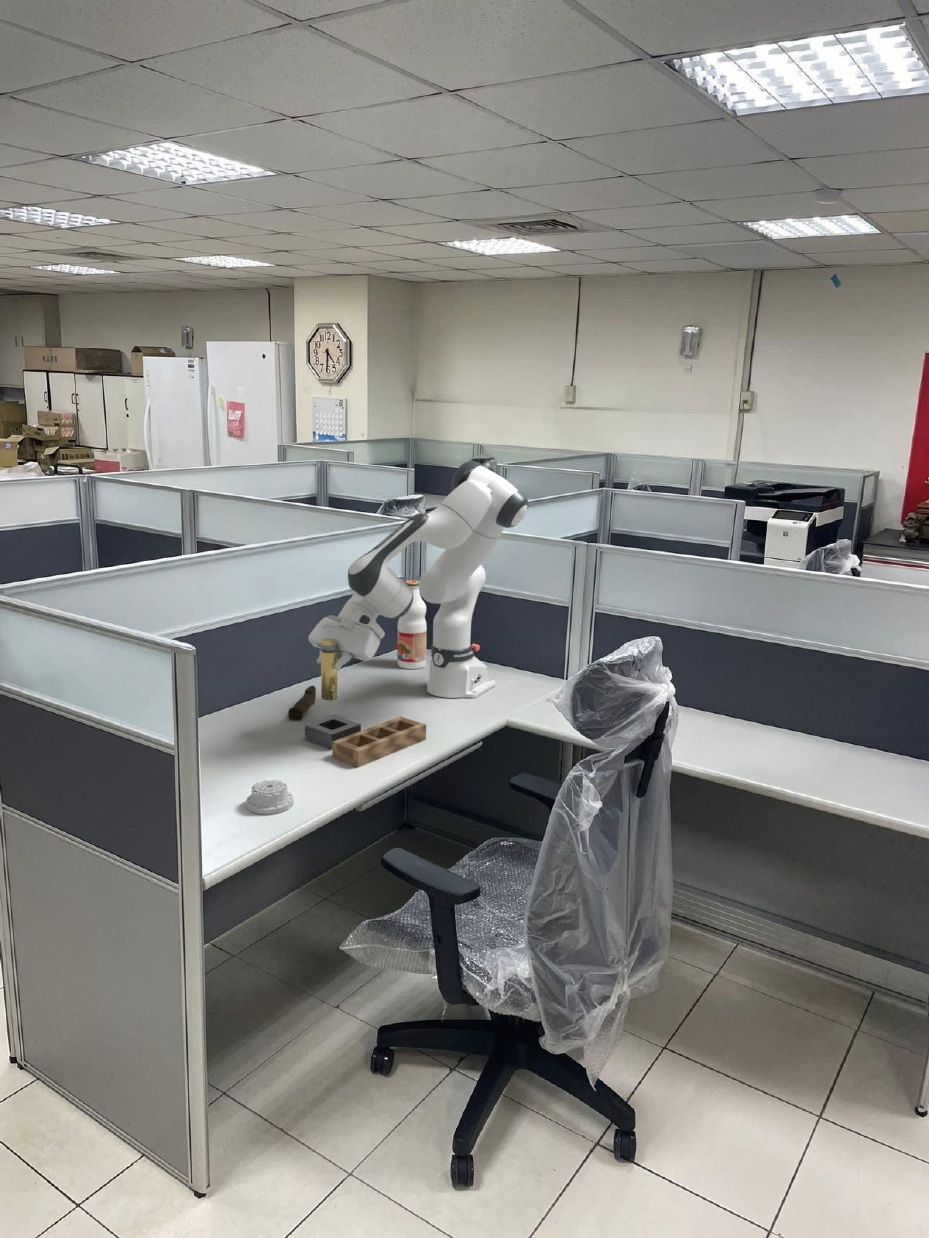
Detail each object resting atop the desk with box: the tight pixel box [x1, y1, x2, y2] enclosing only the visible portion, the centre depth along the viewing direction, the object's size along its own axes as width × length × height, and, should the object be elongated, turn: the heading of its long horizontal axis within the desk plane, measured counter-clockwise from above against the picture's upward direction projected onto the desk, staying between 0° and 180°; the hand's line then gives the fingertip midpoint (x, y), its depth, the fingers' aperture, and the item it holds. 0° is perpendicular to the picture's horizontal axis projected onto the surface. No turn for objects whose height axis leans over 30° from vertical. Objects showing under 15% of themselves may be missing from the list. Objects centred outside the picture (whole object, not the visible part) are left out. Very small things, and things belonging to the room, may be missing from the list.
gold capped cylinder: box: [319, 639, 338, 701], centre depth 223 cm, size 5×5×15 cm
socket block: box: [304, 714, 362, 750], centre depth 226 cm, size 10×10×4 cm
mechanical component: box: [245, 779, 295, 815], centre depth 190 cm, size 10×4×10 cm
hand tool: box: [287, 685, 317, 721], centre depth 248 cm, size 19×4×5 cm, turn 171°
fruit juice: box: [396, 579, 428, 670], centre depth 287 cm, size 9×9×28 cm
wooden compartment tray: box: [331, 716, 427, 768], centre depth 221 cm, size 24×9×4 cm, turn 141°
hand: (327, 666), depth 222 cm, fingers closed on gold capped cylinder, 4 cm apart
